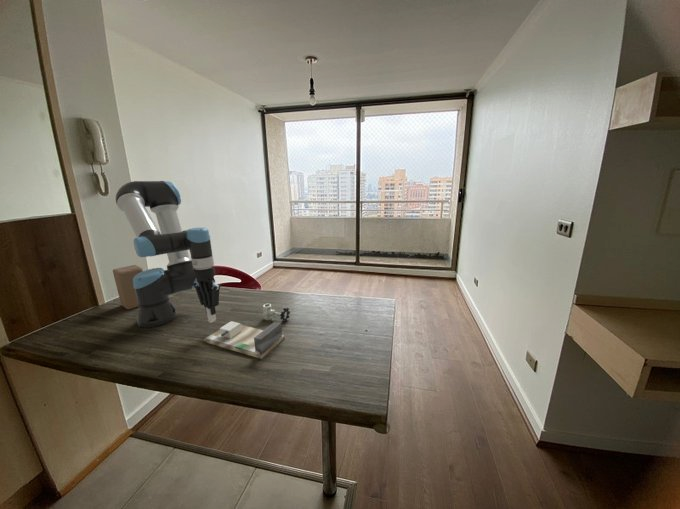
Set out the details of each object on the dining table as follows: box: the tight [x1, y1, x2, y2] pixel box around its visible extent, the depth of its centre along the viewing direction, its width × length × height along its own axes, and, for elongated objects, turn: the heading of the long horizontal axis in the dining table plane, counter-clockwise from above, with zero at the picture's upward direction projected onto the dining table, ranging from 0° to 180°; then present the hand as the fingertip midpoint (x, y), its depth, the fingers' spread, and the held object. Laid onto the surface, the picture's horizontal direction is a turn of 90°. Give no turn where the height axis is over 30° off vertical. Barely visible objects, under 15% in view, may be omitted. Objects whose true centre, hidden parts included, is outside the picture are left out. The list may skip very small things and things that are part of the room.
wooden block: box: [112, 264, 144, 310], centre depth 134 cm, size 10×10×20 cm
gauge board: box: [204, 321, 286, 360], centre depth 103 cm, size 28×14×7 cm, turn 67°
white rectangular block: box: [219, 320, 242, 339], centre depth 105 cm, size 5×9×4 cm, turn 157°
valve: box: [262, 303, 291, 324], centre depth 119 cm, size 7×7×12 cm
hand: (212, 320), depth 109 cm, fingers closed
